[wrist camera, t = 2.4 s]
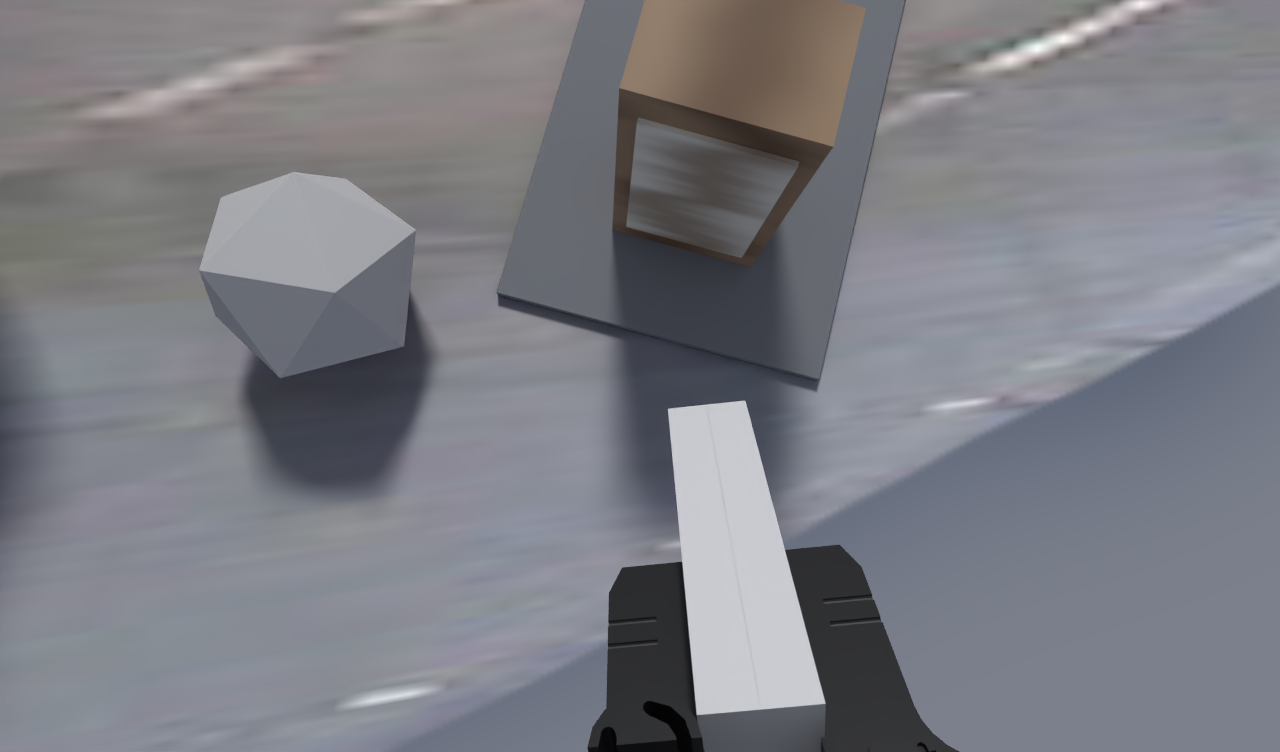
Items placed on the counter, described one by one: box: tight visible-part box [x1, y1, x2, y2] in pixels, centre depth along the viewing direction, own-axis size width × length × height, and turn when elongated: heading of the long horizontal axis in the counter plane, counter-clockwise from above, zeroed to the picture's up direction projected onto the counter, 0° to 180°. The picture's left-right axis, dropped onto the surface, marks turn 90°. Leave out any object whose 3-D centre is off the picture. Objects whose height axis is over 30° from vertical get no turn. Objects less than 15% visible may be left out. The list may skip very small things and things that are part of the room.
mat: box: [497, 0, 905, 380], centre depth 38 cm, size 16×24×1 cm, turn 165°
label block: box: [612, 0, 866, 267], centre depth 30 cm, size 7×5×13 cm
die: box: [199, 172, 416, 378], centre depth 32 cm, size 8×9×10 cm
